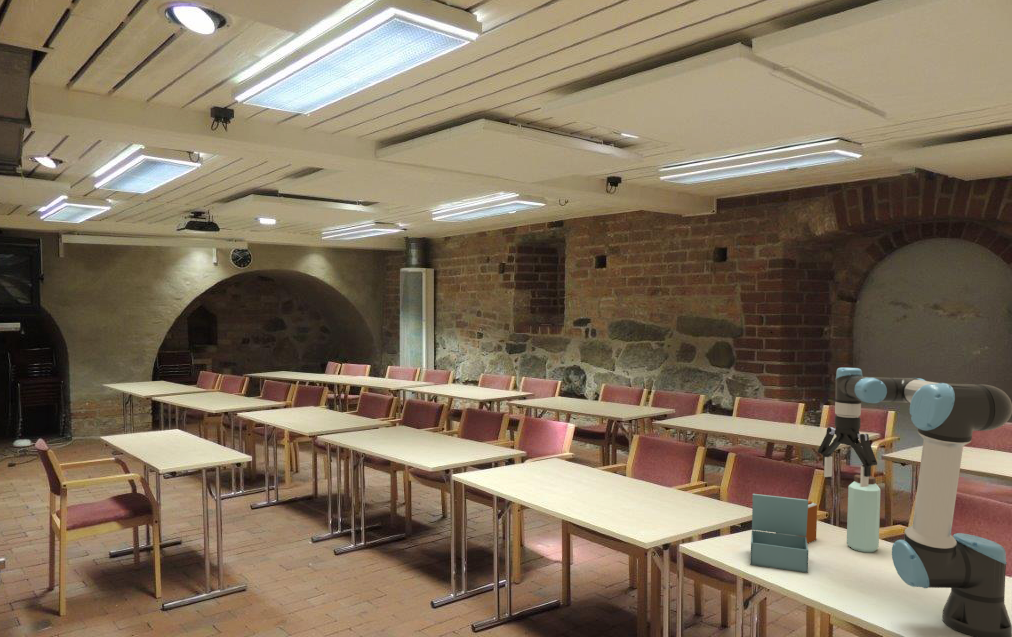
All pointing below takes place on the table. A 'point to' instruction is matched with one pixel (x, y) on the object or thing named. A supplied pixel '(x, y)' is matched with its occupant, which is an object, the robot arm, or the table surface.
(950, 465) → the robot arm
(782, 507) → the lid
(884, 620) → the table surface
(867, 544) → the water bottle
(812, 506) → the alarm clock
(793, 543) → the grey-green open box
